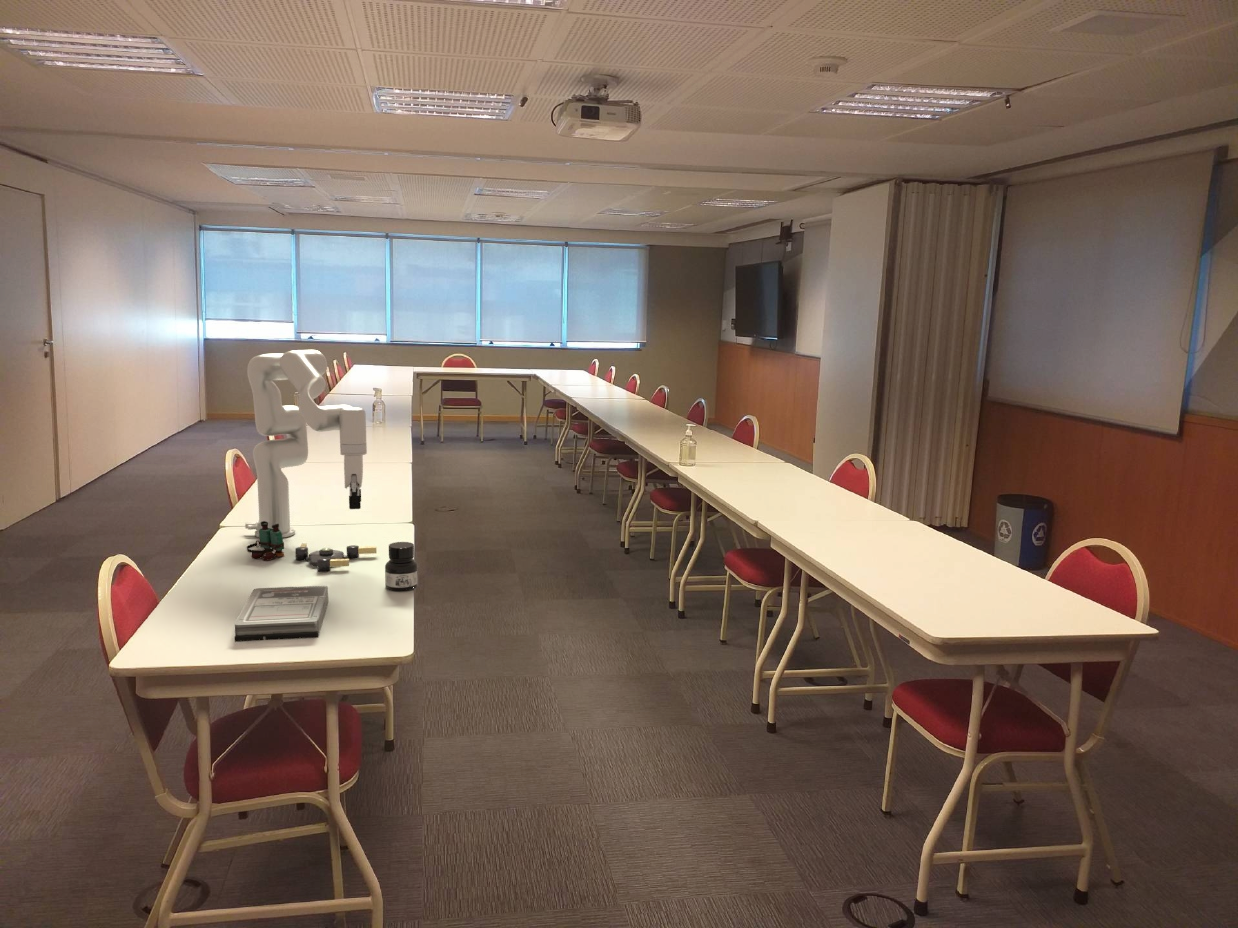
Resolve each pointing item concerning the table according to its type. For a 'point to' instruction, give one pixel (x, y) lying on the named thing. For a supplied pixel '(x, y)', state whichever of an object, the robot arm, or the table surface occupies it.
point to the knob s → (330, 563)
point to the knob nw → (301, 552)
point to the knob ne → (359, 551)
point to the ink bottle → (401, 567)
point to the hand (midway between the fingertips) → (355, 505)
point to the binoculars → (268, 543)
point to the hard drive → (282, 613)
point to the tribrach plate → (325, 555)
